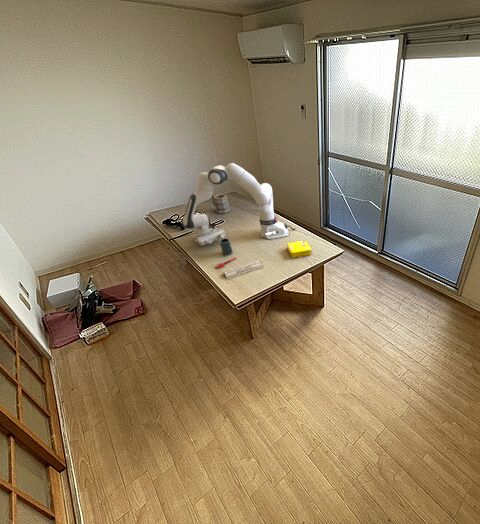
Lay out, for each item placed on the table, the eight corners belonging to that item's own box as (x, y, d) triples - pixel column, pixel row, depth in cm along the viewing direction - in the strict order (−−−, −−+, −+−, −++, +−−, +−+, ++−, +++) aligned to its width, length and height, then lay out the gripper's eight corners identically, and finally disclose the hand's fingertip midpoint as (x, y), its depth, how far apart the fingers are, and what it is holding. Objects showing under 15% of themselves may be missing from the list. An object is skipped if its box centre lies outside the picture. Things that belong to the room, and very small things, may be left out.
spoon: (234, 257, 197) (233, 256, 196) (237, 259, 195) (237, 258, 194) (215, 267, 187) (214, 265, 187) (218, 269, 185) (218, 268, 185)
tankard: (233, 209, 265) (229, 194, 256) (222, 214, 256) (218, 198, 247) (219, 205, 273) (215, 190, 265) (208, 209, 265) (203, 194, 256)
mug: (220, 253, 202) (217, 240, 196) (228, 249, 206) (225, 237, 201) (228, 257, 197) (225, 245, 191) (236, 253, 201) (234, 241, 196)
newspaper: (258, 262, 193) (258, 259, 192) (262, 266, 188) (262, 264, 187) (224, 273, 182) (223, 271, 180) (227, 279, 177) (226, 276, 176)
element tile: (286, 248, 208) (286, 242, 205) (306, 244, 212) (305, 239, 209) (291, 258, 196) (290, 252, 193) (312, 254, 201) (311, 248, 198)
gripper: (192, 236, 203) (203, 242, 196) (218, 226, 216) (228, 231, 209) (195, 243, 206) (205, 250, 199) (219, 233, 220) (230, 239, 212)
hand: (217, 240), depth 204 cm, fingers open, 8 cm apart
